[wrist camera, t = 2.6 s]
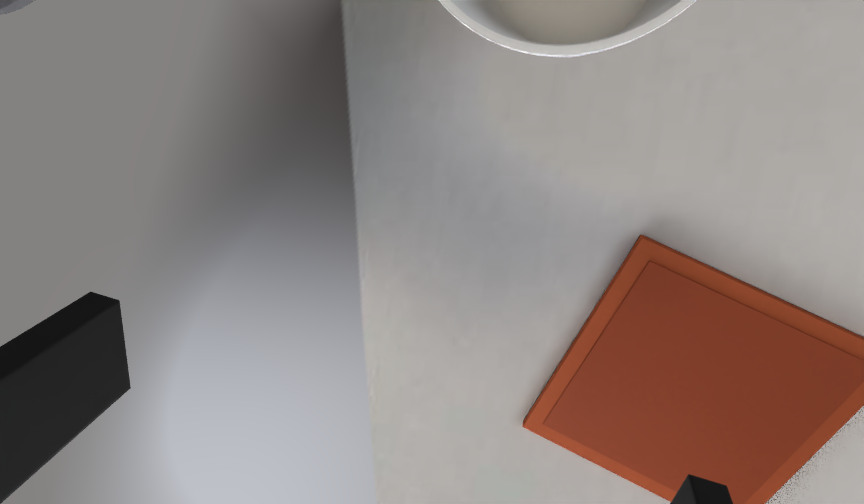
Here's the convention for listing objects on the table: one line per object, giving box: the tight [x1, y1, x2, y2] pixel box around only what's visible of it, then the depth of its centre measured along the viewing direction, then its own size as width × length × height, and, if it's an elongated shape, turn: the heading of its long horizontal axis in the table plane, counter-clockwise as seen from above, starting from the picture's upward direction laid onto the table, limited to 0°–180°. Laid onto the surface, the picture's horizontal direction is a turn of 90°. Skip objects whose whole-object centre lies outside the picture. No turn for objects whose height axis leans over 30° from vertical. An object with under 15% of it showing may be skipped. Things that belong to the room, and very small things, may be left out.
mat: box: [523, 235, 864, 504], centre depth 31 cm, size 15×15×1 cm
